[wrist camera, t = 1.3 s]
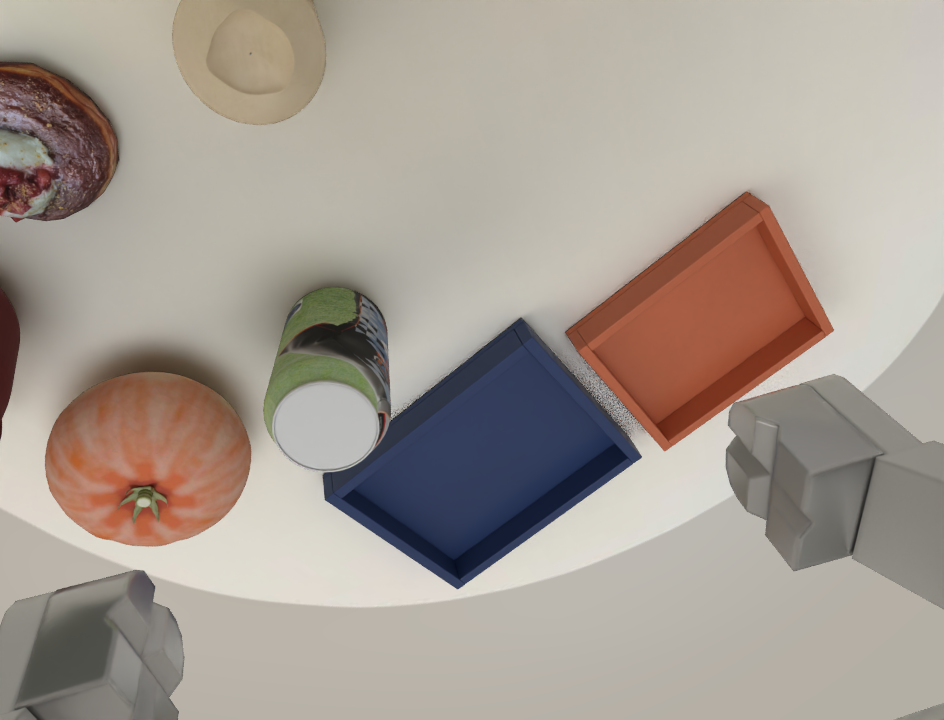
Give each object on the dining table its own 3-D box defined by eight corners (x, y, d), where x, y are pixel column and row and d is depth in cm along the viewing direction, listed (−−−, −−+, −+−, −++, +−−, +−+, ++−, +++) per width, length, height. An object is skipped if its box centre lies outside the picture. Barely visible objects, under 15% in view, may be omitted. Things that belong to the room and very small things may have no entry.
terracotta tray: (746, 191, 45) (769, 205, 43) (812, 313, 52) (834, 330, 50) (564, 332, 48) (577, 351, 46) (650, 430, 55) (664, 451, 52)
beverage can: (348, 381, 46) (368, 514, 36) (243, 329, 42) (234, 461, 33) (405, 308, 44) (443, 427, 34) (301, 247, 40) (309, 361, 31)
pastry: (-27, 223, 36) (-65, 266, 32) (-101, 64, 32) (-156, 89, 28) (141, 202, 37) (125, 241, 33) (91, 47, 33) (65, 69, 29)
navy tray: (521, 317, 46) (532, 336, 44) (628, 436, 54) (642, 457, 52) (322, 474, 50) (324, 499, 48) (451, 565, 58) (457, 589, 56)
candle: (208, 83, 35) (188, 141, 27) (180, -48, 32) (148, -26, 24) (323, 74, 36) (337, 128, 28) (306, -53, 33) (317, -34, 25)
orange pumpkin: (33, 449, 43) (-9, 548, 37) (109, 314, 40) (77, 396, 33) (204, 505, 49) (193, 599, 42) (284, 389, 45) (286, 473, 39)
